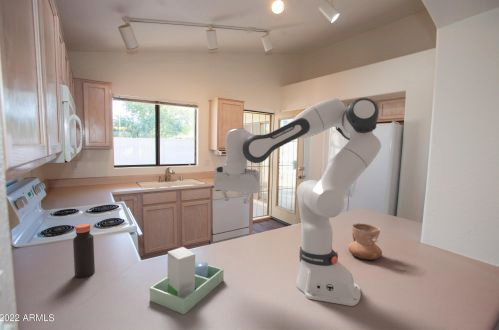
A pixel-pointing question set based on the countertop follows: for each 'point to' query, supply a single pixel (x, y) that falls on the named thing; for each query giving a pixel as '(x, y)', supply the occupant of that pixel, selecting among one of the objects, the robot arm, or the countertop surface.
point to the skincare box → (181, 272)
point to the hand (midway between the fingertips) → (236, 202)
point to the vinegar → (83, 251)
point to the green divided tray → (192, 299)
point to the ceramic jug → (365, 242)
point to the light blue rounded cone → (201, 269)
